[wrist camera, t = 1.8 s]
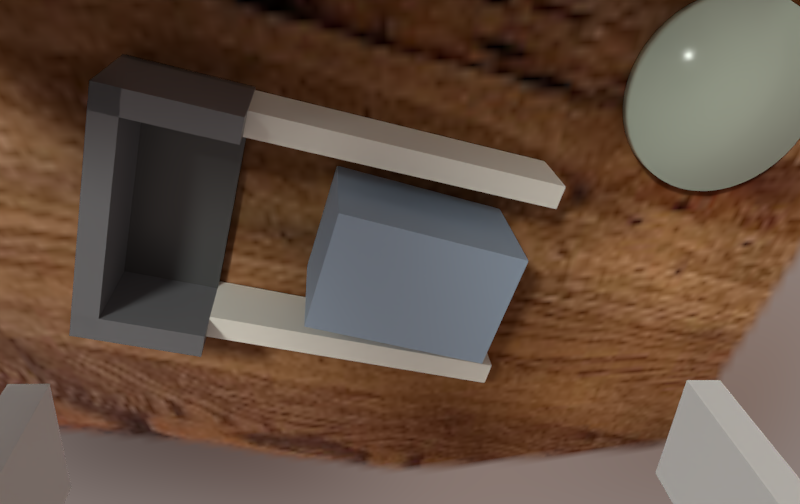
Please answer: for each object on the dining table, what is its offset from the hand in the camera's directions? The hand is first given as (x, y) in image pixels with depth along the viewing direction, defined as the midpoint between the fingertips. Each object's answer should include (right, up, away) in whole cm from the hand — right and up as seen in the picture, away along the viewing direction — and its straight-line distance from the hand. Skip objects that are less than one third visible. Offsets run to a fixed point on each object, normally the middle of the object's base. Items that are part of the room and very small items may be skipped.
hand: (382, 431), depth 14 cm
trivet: (+17, +12, +20) cm, 29 cm away
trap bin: (-11, +7, +20) cm, 23 cm away
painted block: (+1, +5, +22) cm, 23 cm away
